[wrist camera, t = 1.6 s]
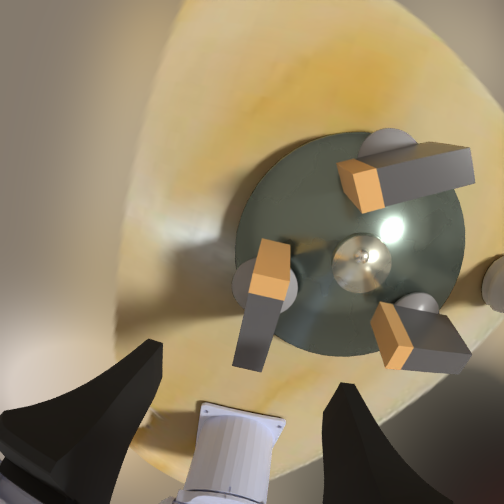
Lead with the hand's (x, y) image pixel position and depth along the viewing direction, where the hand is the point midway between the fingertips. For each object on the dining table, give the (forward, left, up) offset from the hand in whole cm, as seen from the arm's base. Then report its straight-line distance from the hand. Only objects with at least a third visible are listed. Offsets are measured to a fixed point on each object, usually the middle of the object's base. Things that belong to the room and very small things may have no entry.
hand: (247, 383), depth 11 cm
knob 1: (0, 0, -8) cm, 8 cm away
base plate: (+3, -5, -9) cm, 11 cm away
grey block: (0, -10, -8) cm, 13 cm away
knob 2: (+9, -5, -8) cm, 13 cm away
